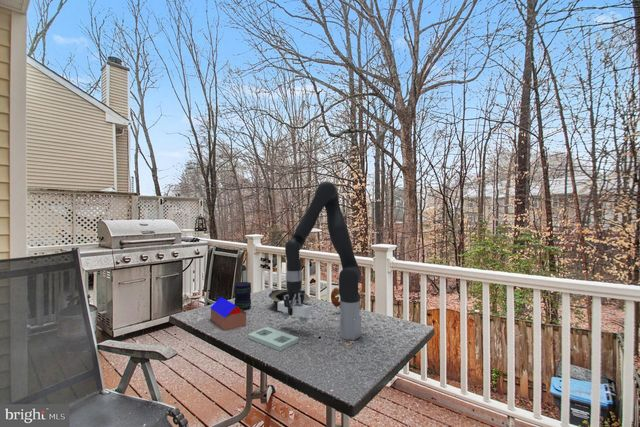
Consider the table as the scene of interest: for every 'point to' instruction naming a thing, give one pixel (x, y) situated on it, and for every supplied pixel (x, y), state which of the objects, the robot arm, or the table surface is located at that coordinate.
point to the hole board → (273, 338)
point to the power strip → (296, 310)
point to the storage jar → (243, 295)
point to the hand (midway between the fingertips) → (294, 313)
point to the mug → (333, 298)
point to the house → (227, 314)
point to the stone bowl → (278, 296)
